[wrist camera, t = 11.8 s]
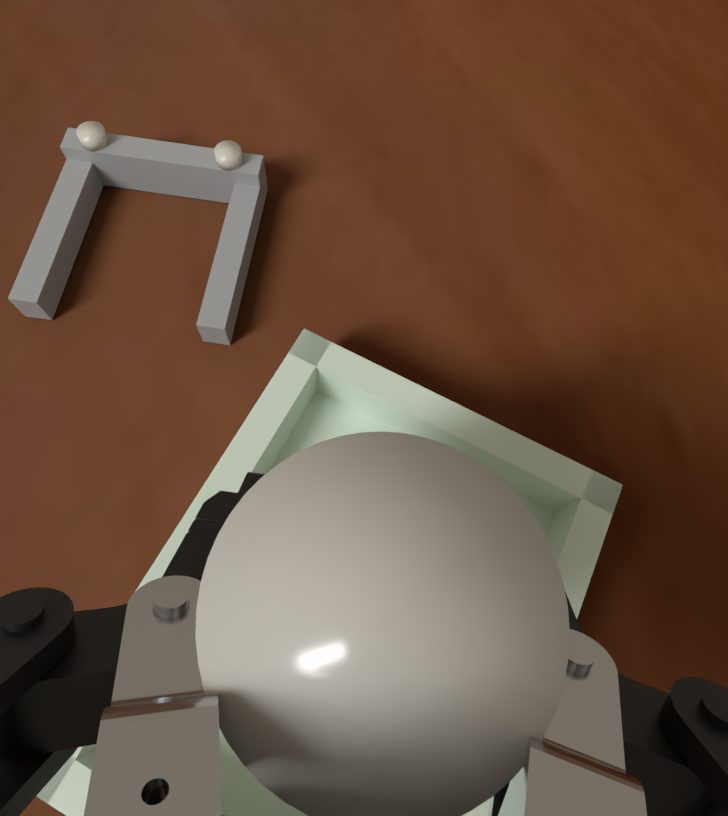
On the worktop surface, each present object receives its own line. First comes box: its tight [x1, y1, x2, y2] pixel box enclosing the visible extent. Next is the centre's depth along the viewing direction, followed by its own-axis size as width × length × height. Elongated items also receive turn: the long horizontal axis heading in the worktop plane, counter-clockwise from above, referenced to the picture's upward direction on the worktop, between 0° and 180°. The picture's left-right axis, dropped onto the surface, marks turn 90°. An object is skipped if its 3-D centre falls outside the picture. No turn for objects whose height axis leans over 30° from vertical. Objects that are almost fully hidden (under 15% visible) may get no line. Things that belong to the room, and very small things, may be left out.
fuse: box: [195, 431, 570, 816], centre depth 12 cm, size 5×5×10 cm
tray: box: [36, 329, 623, 816], centre depth 16 cm, size 14×11×3 cm
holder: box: [8, 121, 268, 345], centre depth 21 cm, size 7×8×2 cm
